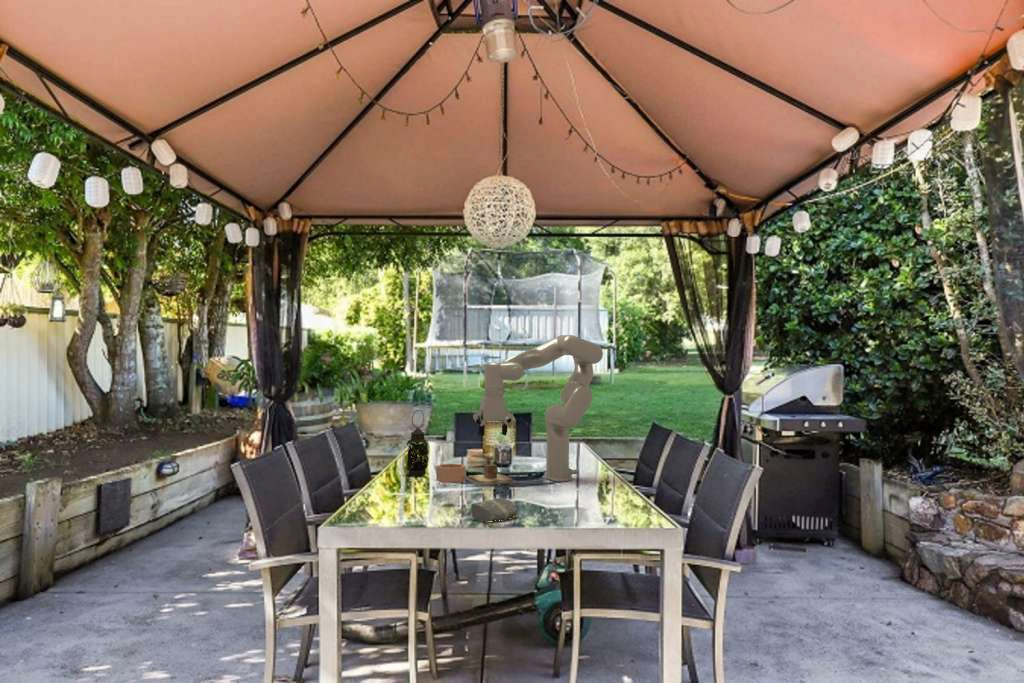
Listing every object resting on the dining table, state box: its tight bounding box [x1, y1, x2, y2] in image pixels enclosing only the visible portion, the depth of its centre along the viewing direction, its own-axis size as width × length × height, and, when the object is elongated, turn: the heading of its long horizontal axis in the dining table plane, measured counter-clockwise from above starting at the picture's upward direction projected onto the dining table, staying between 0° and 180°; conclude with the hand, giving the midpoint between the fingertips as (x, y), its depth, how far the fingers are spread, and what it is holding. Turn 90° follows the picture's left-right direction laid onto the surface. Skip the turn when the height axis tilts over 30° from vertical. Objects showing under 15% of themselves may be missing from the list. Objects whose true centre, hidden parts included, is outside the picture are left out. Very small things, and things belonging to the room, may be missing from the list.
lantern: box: [406, 409, 430, 478], centre depth 311 cm, size 10×9×28 cm
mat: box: [465, 476, 519, 486], centre depth 297 cm, size 18×18×1 cm
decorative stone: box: [470, 497, 518, 522], centre depth 234 cm, size 13×10×6 cm
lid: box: [467, 463, 514, 484], centre depth 297 cm, size 14×14×6 cm
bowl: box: [435, 463, 467, 483], centre depth 296 cm, size 11×11×7 cm
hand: (493, 435), depth 293 cm, fingers open, 9 cm apart
